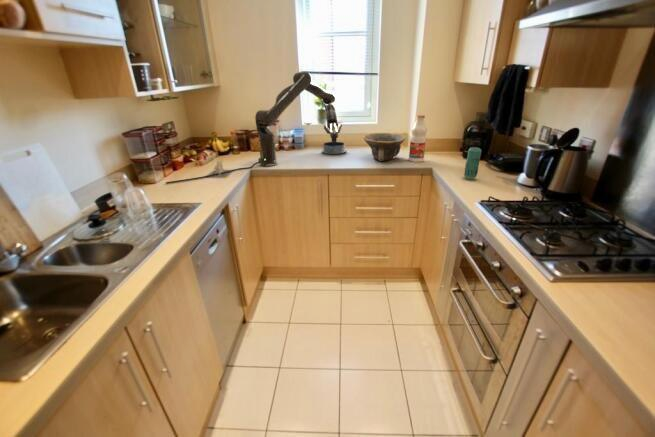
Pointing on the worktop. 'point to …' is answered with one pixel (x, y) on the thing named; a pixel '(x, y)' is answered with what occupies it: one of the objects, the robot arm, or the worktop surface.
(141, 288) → the worktop surface
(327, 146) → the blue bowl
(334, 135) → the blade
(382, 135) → the bowl
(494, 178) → the worktop surface
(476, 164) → the beverage bottle
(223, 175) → the architectural model
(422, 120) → the fruit juice
